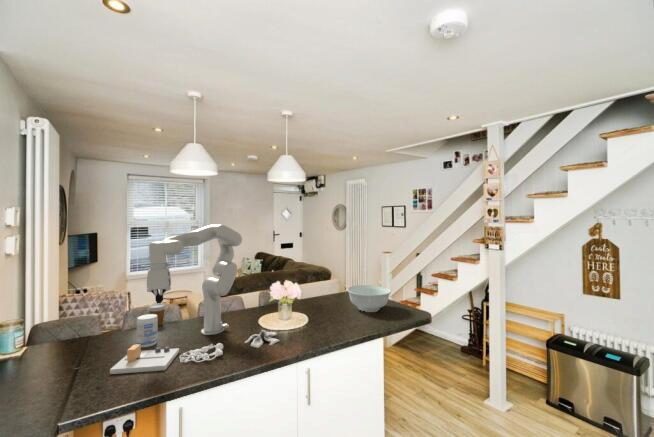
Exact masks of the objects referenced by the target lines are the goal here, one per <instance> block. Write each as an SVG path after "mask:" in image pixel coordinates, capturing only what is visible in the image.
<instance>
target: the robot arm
mask: <svg viewBox="0 0 654 437" xmlns="http://www.w3.org/2000/svg"><path fill="white" fill-rule="evenodd" d="M242 237H243V236H242V234H240V233H239V232H238V231H236V230H234V229H232V228H231V227H229V226H227V225H225V224H222V223H221V224H217V223H216V224H215V223H214V224H213V223H212V224H210V225H206V226H203V227H201V228H198V229H195V230H192V231H188V232H185V233H181V234H180V233H179V234H177V235H173V236H170V237H167V238H165V239H163V240H161V241H160V240H159V241H152V242H150V243H149V244H148V251H149V252H148V253H149V254H148V256H149V258H148V259H149V269H148V271H147V276H146V292H147V293H152V294H153V296H155V302H156V304H162V302H163V301H164V294H165V292H169V291H171V289H172V287H171V285H172V278H171V272H170V271H171V270H170V268H169V267H170V266H171V264H170V263H168V261H167V257H168V255H169V256H170V255H172V256H174V255H175V256H176V255H179V254H181V253H183V251H184V250H185V248H187V247H196V246H200V245H202V244H205V243H207V242H210V241H212V240H216V239H217V241H218V242H217V243H218V245H219V248H220V252H219V255H218V257H217V258H216V261H215V263H214V265H213V268H212V271H211V272H212V274H213V275H214V276H215V277H210V276H209V277H207V278H206V279H204V280H203V282H202V284H201V289H202V290H201V291H202V295H203V328H202V329H200V334H202V335H205V336H212V335H218V334H220V333H222V332H224V330H225V329H229V324H228V323H223V321H222V299H221V297H223V296H226V295H227V294H228V293H229V292H230V290H231V288H232V286H233V284H234V281H235V279H236V277H237V274H238V266H237V264H236V262H233V259H234V256H235V251H234V250H235V249H234V247H238V246H241V244H242V243H243V238H242ZM219 277H220V278H219Z"/></svg>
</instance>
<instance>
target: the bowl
mask: <svg viewBox="0 0 654 437" xmlns="http://www.w3.org/2000/svg"><path fill="white" fill-rule="evenodd" d="M346 291H347V292H348V295H349V299H350V302H351V303H352V304H353V305H354V306H355V307H357V309H358V310H359V311H360V310H361V312H363V311H365V312H364V313H376V312H378V310H379V311H380V309H381V308H383V307H384V306H385V305H387V303H388V301H389V297H390V295H391V293H392V290H391V289H390V288H388V287H386V286H380V285H372V284H371V285H370V284H367V285H365V284H360V285H352V286H349V287H347V289H346Z"/></svg>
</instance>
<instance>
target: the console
mask: <svg viewBox="0 0 654 437" xmlns="http://www.w3.org/2000/svg"><path fill="white" fill-rule="evenodd" d="M178 354H180V348H178V347H176V348H171V347H170V346H165V347H163V349H162V347H161V346H158V347H155V348H154V349H149V350H145V349H144V350H141V355H140V356H139V357H138V358H137V359H136V360H135V361H127V354H126V355H125V356H123V358H122V359H120V360H119V361H118V362H117V363H115V364H114V365H113V366H112V367H111V368H110V369H109V375H119V374H131V373H133V374H134V373H143V372H147V373H148V372H156V371H166V370H167V369H168V367H169V366H170V365H171V363H172V362H173V361H174V359H176V358H177V356H178Z"/></svg>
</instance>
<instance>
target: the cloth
mask: <svg viewBox="0 0 654 437" xmlns="http://www.w3.org/2000/svg"><path fill="white" fill-rule="evenodd" d="M276 335H277V336H278V333H277V332H274V331H266V330H264V329H261V331H260V332H259V334H256V333H255V334H252V335H250V337H249V338H248V339H247V340H245V341H244V344H245V343H246V344H248V343H250V342H251V343H250V347H252V348H256V349H257V348H258V349H259V348H260V347H261V346H263V345H264V343H265V342H267V343H268V345H269V346H271V345H272V346H273V345H275V344H276V343H278V342H280V339H277V338H275V336H276ZM273 337H274V338H273Z"/></svg>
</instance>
